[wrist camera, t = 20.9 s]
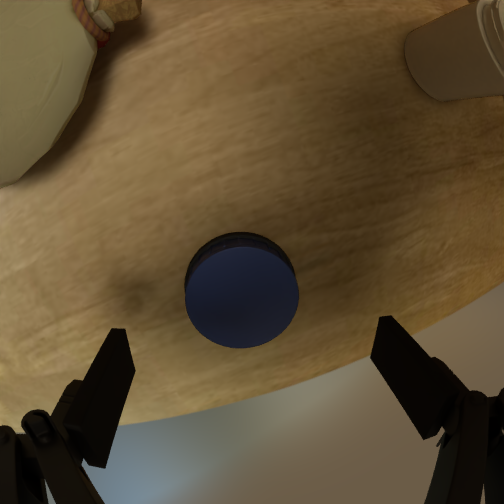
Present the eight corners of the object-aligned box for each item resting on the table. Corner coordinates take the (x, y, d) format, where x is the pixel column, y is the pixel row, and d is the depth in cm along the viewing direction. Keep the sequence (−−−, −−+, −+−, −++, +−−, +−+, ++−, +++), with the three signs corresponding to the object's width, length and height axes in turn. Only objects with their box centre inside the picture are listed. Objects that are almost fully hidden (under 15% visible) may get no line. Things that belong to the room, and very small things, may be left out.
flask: (-33, 63, 13) (135, -39, 14) (-6, 213, 18) (184, 116, 19) (-94, 47, 4) (113, -106, 5) (-79, 242, 9) (167, 83, 10)
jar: (470, 66, 18) (554, 52, 8) (450, 117, 20) (546, 116, 10) (418, 14, 17) (498, -25, 7) (392, 63, 18) (486, 27, 8)
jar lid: (226, 215, 20) (227, 221, 18) (313, 274, 22) (322, 286, 20) (167, 301, 21) (163, 315, 19) (252, 349, 23) (255, 364, 21)
